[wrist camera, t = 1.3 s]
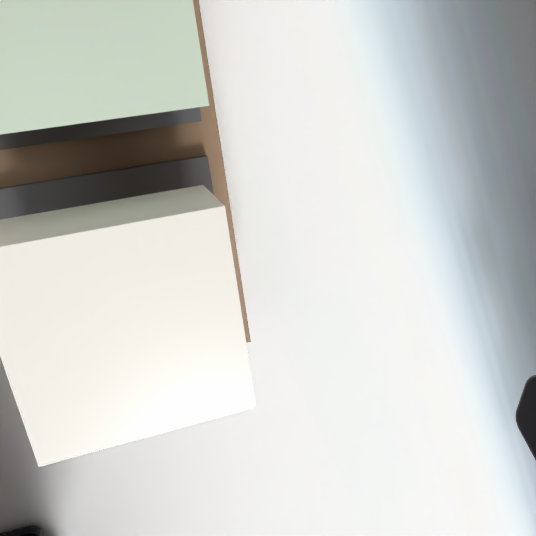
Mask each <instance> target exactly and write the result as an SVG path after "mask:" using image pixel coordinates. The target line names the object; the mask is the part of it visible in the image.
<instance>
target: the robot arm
mask: <svg viewBox="0 0 536 536" xmlns="http://www.w3.org/2000/svg"><path fill="white" fill-rule="evenodd" d="M516 422H517V426H518V428H519V430H520V432H521V434H522V436H523V437H524V439H525V441H526V443H527V445H528V447H529V449H530V451H531V452H532V454H533V456H534V458H535V460H536V375H534V376H531V377H530V378H529V379H528V380H527V381H526V383H525V386H524V389H523V392H522V395H521V398H520V401H519V404H518V407H517V410H516ZM0 536H45V535H44V532H43V531H42V529H41V528H39V527H37V526H26V527H23V528H20V529H16V530H13V531H10V532H6V533H3V534H0Z"/></svg>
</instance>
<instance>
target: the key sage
mask: <svg viewBox="0 0 536 536" xmlns="http://www.w3.org/2000/svg"><path fill="white" fill-rule="evenodd" d="M204 106H209V101H208V94H207V88H206V82H205V75H204V69H203V62H202V56H201V50H200V43H199V37H198V30H197V24H196V18H195V11H194V5H193V0H0V135H1V134H8V133H15V132H22V131H30V130H37V129H44V128H51V127H59V126H66V125H73V124H80V123H88V122H95V121H102V120H109V119H117V118H124V117H131V116H138V115H146V114H153V113H160V112H167V111H175V110H182V109H189V108H196V107H204Z"/></svg>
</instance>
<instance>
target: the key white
mask: <svg viewBox="0 0 536 536" xmlns="http://www.w3.org/2000/svg"><path fill="white" fill-rule="evenodd" d="M0 357H1V360H2V363H3V366H4V369H5V372H6V375H7V377H8V380H9V383H10V386H11V389H12V392H13V395H14V398H15V401H16V403H17V406H18V409H19V412H20V415H21V418H22V421H23V424H24V426H25V429H26V432H27V435H28V438H29V441H30V444H31V447H32V449H33V452H34V455H35V458H36V461H37V464H38V467H41V466H45V465H49V464H52V463H56V462H59V461H63V460H67V459H70V458H74V457H78V456H81V455H85V454H89V453H92V452H96V451H100V450H103V449H107V448H110V447H114V446H118V445H121V444H125V443H129V442H132V441H136V440H140V439H143V438H147V437H150V436H154V435H158V434H161V433H165V432H169V431H172V430H176V429H180V428H183V427H187V426H191V425H194V424H198V423H201V422H205V421H209V420H212V419H216V418H220V417H223V416H227V415H231V414H234V413H238V412H241V411H245V410H249V409H252V408H256V401H255V395H254V389H253V382H252V376H251V369H250V363H249V357H248V350H247V344H246V337H245V331H244V325H243V318H242V312H241V306H240V299H239V293H238V286H237V280H236V274H235V267H234V261H233V254H232V248H231V242H230V235H229V229H228V222H227V216H226V210H225V205H224V204H222V203H221V202H220V201H219V200H218V199H217V198H216V197H215V196H214V195H213V194H212V193H211V192H210V191H209V190H208V189H207V188H206V187H205V186H204V185H199V186H193V187H188V188H182V189H176V190H170V191H164V192H158V193H153V194H147V195H141V196H135V197H129V198H124V199H118V200H112V201H106V202H100V203H94V204H89V205H83V206H77V207H71V208H65V209H59V210H54V211H48V212H42V213H36V214H30V215H25V216H19V217H13V218H7V219H1V220H0Z"/></svg>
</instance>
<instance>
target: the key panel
mask: <svg viewBox="0 0 536 536" xmlns="http://www.w3.org/2000/svg"><path fill="white" fill-rule="evenodd" d="M193 5H194V11H195V18H196V24H197V30H198V37H199V43H200V50H201V56H202V62H203V69H204V75H205V82H206V88H207V94H208V101H209V106H204V107H196V108H189V109H182V110H175V111H167V112H160V113H153V114H146V115H138V116H131V117H124V118H117V119H109V120H102V121H95V122H88V123H80V124H73V125H66V126H59V127H51V128H44V129H37V130H30V131H22V132H15V133H8V134H1V135H0V220H1V219H7V218H13V217H19V216H25V215H30V214H36V213H42V212H48V211H54V210H59V209H65V208H71V207H77V206H83V205H89V204H94V203H100V202H106V201H112V200H118V199H124V198H129V197H135V196H141V195H147V194H153V193H158V192H164V191H170V190H176V189H182V188H188V187H193V186H199V185H204V186H205V187H206V188H207V189H208V190H209V191H210V192H211V193H212V194H213V195H214V196H215V197H216V198H217V199H218V200H219V201H220V202H221V203H222V204H224V205H225V210H226V216H227V222H228V229H229V235H230V242H231V248H232V254H233V261H234V267H235V274H236V280H237V286H238V293H239V299H240V306H241V312H242V318H243V325H244V331H245V337H246V343H247V342H251V341H250V334H249V328H248V321H247V314H246V308H245V301H244V295H243V288H242V282H241V275H240V269H239V262H238V256H237V249H236V242H235V236H234V229H233V223H232V216H231V210H230V203H229V197H228V190H227V184H226V177H225V170H224V164H223V157H222V151H221V144H220V138H219V131H218V125H217V118H216V112H215V105H214V99H213V92H212V85H211V79H210V72H209V66H208V59H207V53H206V46H205V40H204V33H203V27H202V20H201V13H200V7H199V0H193Z"/></svg>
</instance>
